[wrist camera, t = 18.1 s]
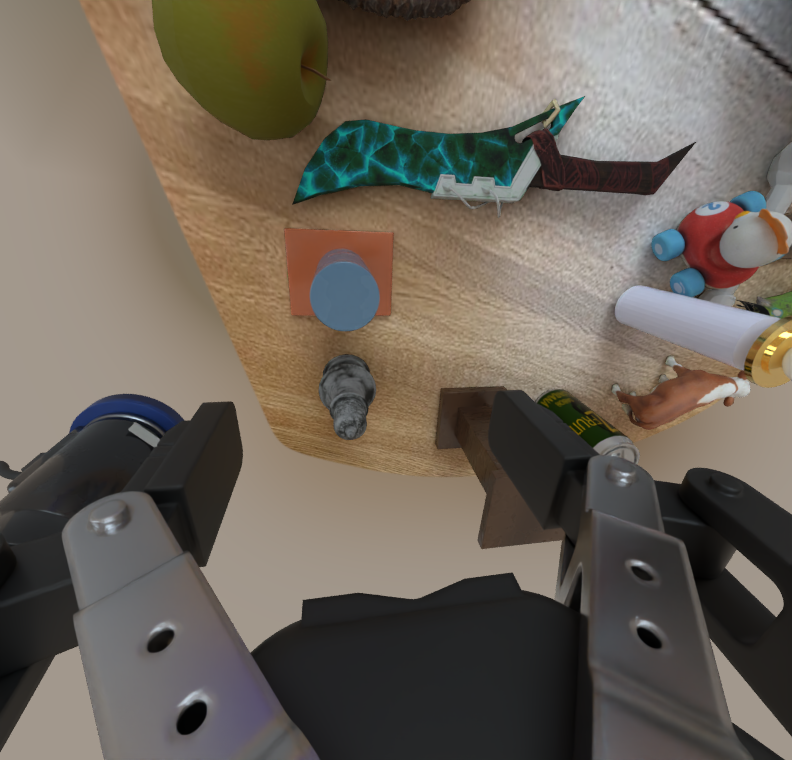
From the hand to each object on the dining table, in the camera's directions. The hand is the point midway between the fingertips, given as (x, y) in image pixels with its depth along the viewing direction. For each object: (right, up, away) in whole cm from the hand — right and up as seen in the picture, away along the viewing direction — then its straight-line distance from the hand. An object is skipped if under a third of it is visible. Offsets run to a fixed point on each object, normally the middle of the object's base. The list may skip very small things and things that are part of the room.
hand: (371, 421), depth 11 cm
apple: (-14, +25, +12) cm, 31 cm away
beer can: (+21, -2, +35) cm, 41 cm away
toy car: (+34, +15, +27) cm, 46 cm away
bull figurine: (+34, +2, +36) cm, 49 cm away
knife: (+10, +22, +22) cm, 32 cm away
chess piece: (-5, +2, +29) cm, 29 cm away
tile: (-5, +12, +24) cm, 27 cm away
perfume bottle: (+28, +10, +30) cm, 42 cm away
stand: (+10, -3, +33) cm, 35 cm away
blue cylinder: (-4, +11, +23) cm, 26 cm away
